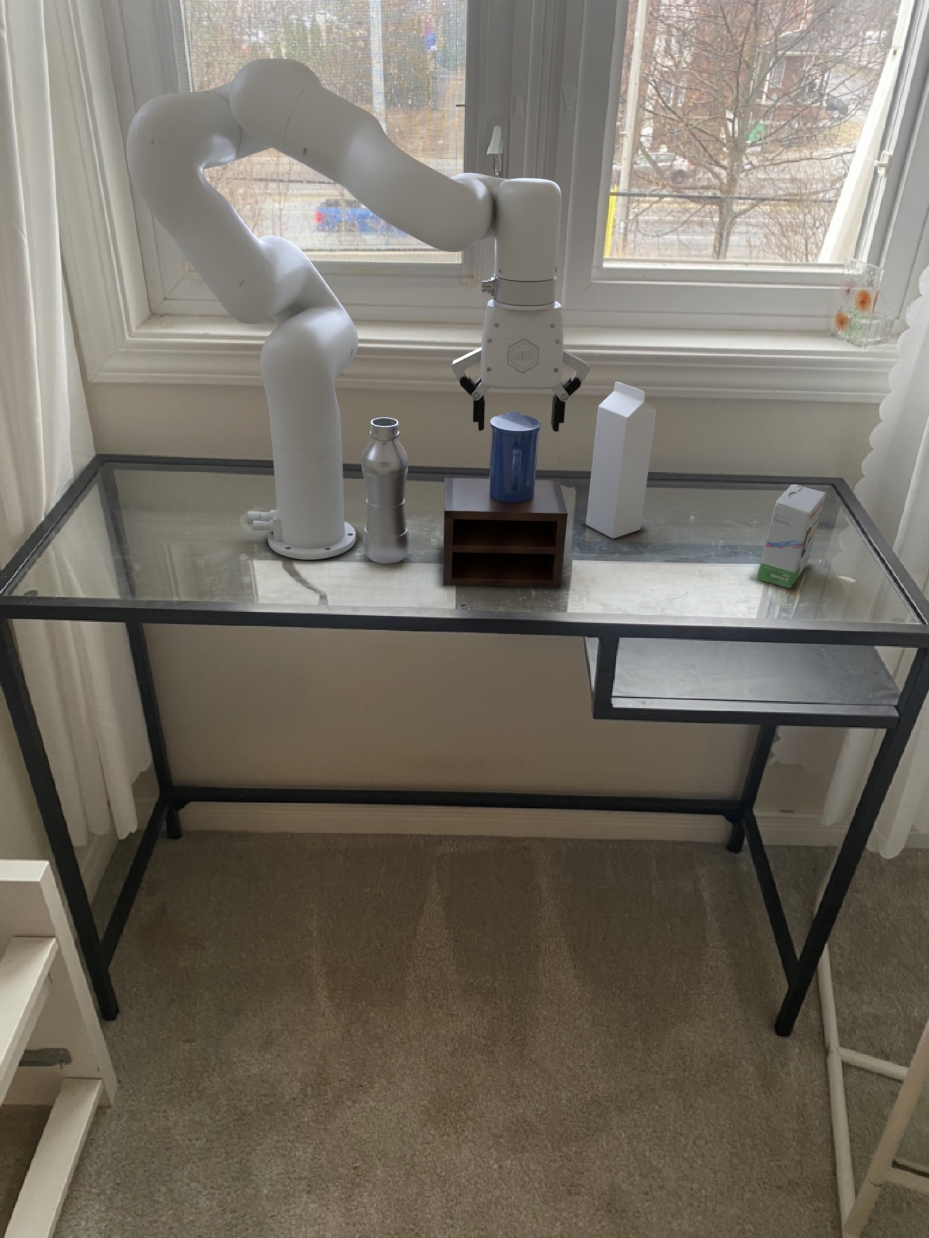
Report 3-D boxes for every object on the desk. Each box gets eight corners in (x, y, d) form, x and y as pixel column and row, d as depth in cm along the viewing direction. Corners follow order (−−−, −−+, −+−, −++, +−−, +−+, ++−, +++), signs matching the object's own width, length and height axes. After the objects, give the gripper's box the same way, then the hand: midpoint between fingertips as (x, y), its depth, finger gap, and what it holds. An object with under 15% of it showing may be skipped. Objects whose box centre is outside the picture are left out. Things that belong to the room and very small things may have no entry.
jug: (488, 511, 124) (491, 437, 119) (485, 480, 133) (488, 410, 128) (539, 512, 125) (545, 438, 120) (533, 481, 133) (538, 411, 128)
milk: (612, 539, 144) (629, 395, 132) (584, 524, 148) (599, 384, 136) (641, 529, 147) (660, 388, 136) (613, 515, 151) (629, 377, 140)
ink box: (773, 557, 140) (789, 481, 134) (808, 566, 138) (827, 490, 132) (755, 580, 134) (771, 501, 128) (792, 590, 132) (810, 511, 126)
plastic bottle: (374, 573, 132) (371, 433, 122) (356, 552, 137) (351, 417, 127) (417, 564, 135) (417, 427, 125) (397, 544, 140) (396, 411, 130)
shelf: (442, 585, 130) (444, 510, 124) (443, 548, 139) (444, 477, 134) (560, 587, 130) (567, 513, 125) (553, 551, 140) (559, 480, 134)
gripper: (452, 297, 113) (451, 437, 121) (600, 299, 113) (587, 438, 122) (452, 284, 119) (451, 417, 128) (591, 286, 119) (580, 419, 128)
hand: (517, 427), depth 125 cm, fingers open, 9 cm apart
